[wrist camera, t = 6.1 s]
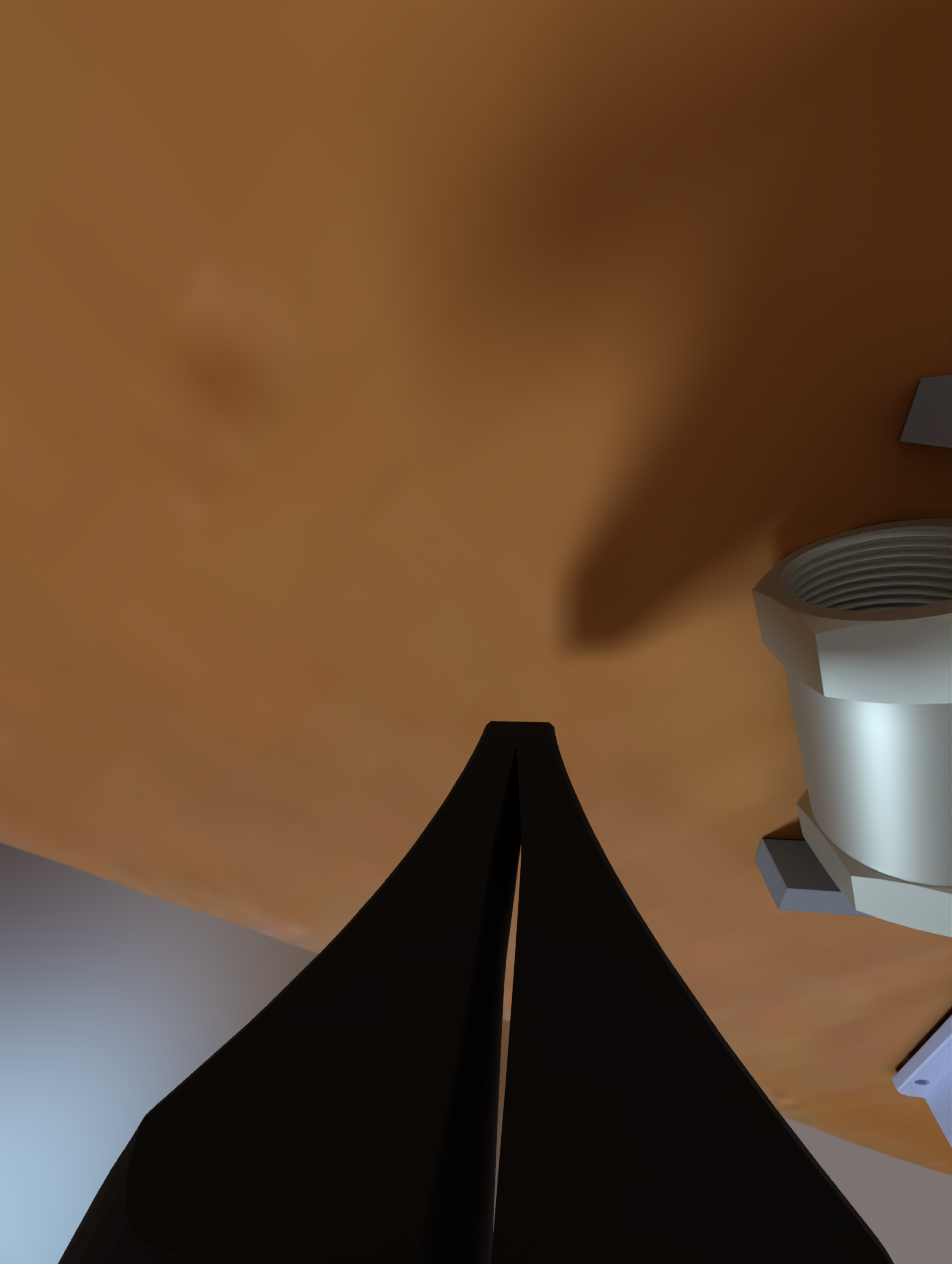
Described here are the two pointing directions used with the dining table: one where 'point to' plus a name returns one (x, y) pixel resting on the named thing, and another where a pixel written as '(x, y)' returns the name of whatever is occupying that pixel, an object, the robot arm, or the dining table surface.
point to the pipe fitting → (873, 710)
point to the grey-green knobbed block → (790, 867)
